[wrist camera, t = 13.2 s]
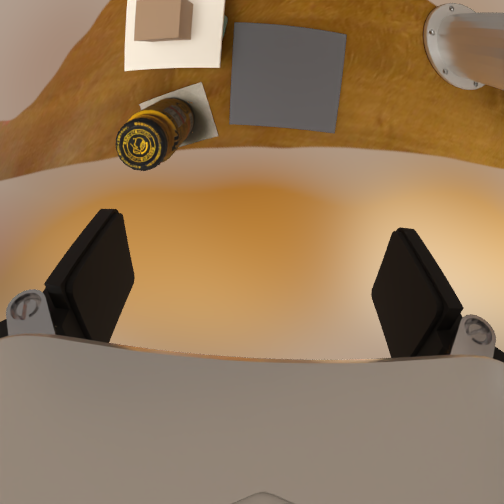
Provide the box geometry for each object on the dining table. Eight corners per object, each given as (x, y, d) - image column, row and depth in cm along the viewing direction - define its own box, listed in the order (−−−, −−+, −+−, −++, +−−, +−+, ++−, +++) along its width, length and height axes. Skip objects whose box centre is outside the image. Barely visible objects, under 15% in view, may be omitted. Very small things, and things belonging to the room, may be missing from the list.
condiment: (139, 103, 35) (97, 126, 25) (201, 81, 34) (177, 93, 24) (158, 153, 39) (124, 191, 29) (218, 135, 38) (202, 167, 28)
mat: (345, 34, 29) (346, 34, 29) (333, 132, 37) (334, 133, 36) (234, 22, 29) (234, 22, 29) (229, 123, 37) (229, 124, 36)
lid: (227, -21, 22) (220, -35, 17) (220, 67, 27) (211, 70, 23) (131, -13, 21) (108, -23, 17) (127, 70, 27) (103, 75, 23)
